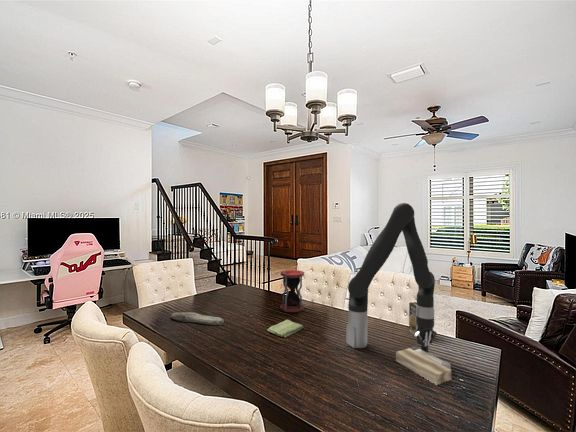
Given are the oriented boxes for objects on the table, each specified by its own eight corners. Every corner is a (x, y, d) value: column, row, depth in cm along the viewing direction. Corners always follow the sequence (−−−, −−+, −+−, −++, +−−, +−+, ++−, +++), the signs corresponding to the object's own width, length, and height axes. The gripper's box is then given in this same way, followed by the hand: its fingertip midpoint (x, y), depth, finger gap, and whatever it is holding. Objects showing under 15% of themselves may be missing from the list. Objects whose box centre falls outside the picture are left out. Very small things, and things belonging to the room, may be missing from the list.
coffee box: (408, 331, 159) (408, 302, 159) (419, 330, 159) (419, 302, 159) (417, 338, 149) (417, 307, 149) (428, 337, 150) (429, 307, 150)
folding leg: (452, 373, 115) (452, 364, 115) (446, 375, 114) (446, 366, 114) (415, 353, 132) (415, 345, 132) (409, 355, 130) (409, 347, 130)
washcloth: (265, 332, 156) (265, 326, 156) (287, 323, 169) (287, 318, 169) (283, 339, 147) (283, 333, 147) (304, 329, 160) (304, 324, 160)
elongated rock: (218, 330, 161) (226, 324, 171) (219, 320, 161) (227, 315, 171) (166, 320, 171) (177, 315, 180) (167, 311, 171) (177, 306, 181)
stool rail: (436, 385, 108) (436, 374, 108) (395, 360, 126) (395, 351, 126) (451, 380, 111) (451, 369, 111) (409, 356, 129) (409, 348, 129)
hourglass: (289, 303, 207) (289, 268, 206) (308, 307, 197) (308, 271, 197) (275, 309, 193) (275, 272, 193) (295, 314, 184) (295, 275, 184)
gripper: (421, 320, 123) (421, 360, 123) (442, 315, 129) (442, 354, 129) (407, 314, 130) (407, 352, 130) (428, 310, 136) (427, 347, 136)
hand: (424, 353), depth 130 cm, fingers closed
